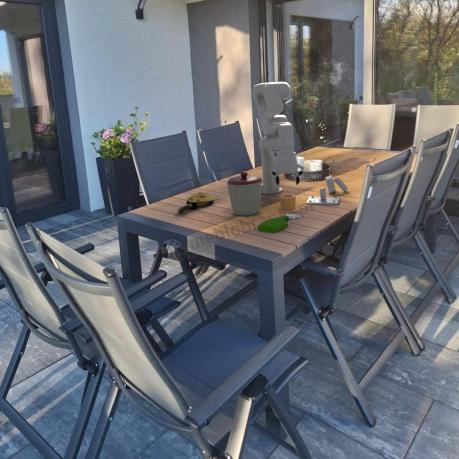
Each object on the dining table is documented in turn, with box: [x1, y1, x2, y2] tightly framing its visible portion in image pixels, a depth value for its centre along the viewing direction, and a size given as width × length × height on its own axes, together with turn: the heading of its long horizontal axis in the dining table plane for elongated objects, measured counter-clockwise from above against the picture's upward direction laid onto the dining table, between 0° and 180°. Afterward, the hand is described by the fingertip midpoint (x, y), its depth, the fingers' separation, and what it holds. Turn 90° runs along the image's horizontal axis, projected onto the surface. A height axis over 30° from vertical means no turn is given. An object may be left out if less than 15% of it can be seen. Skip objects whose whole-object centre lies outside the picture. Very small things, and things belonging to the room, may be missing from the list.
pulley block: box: [177, 192, 220, 214], centre depth 261 cm, size 14×6×30 cm
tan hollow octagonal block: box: [280, 193, 297, 210], centre depth 247 cm, size 7×7×6 cm
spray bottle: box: [257, 213, 301, 234], centre depth 223 cm, size 3×11×24 cm
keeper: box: [305, 187, 341, 206], centre depth 253 cm, size 16×12×7 cm
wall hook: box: [325, 175, 349, 194], centre depth 269 cm, size 8×10×10 cm
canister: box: [225, 171, 263, 217], centre depth 240 cm, size 18×18×21 cm
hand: (287, 184), depth 243 cm, fingers open, 9 cm apart
